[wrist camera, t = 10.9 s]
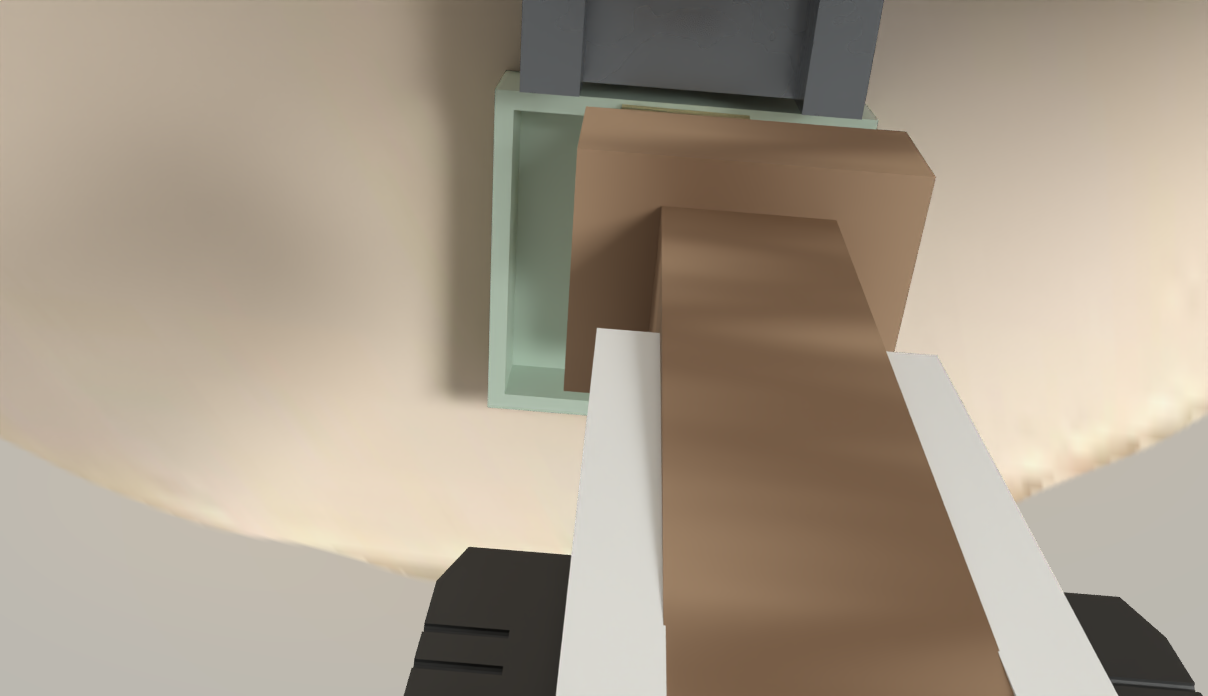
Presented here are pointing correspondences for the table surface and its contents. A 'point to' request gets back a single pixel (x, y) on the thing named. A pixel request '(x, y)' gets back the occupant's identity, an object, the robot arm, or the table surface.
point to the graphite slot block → (706, 48)
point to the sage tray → (563, 223)
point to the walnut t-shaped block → (779, 402)
